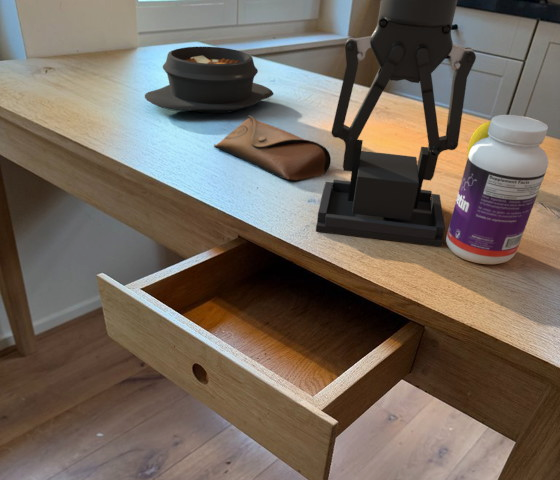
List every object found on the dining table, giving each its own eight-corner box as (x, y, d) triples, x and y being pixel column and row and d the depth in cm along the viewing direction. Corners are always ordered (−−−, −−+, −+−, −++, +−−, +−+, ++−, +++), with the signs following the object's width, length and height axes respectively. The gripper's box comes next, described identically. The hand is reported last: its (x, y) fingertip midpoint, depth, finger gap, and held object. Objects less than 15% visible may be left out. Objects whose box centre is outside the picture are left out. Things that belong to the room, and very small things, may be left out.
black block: (409, 191, 73) (416, 156, 70) (410, 220, 66) (419, 183, 64) (355, 185, 74) (360, 150, 71) (351, 213, 67) (357, 176, 64)
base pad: (435, 206, 75) (439, 191, 74) (441, 247, 66) (446, 231, 65) (324, 193, 77) (326, 178, 75) (315, 231, 67) (317, 215, 66)
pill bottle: (446, 231, 70) (479, 106, 60) (513, 243, 68) (557, 117, 59) (441, 260, 64) (477, 127, 54) (514, 274, 62) (564, 140, 53)
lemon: (497, 184, 83) (515, 127, 78) (459, 177, 84) (474, 121, 79) (499, 172, 87) (516, 117, 82) (463, 165, 88) (477, 111, 83)
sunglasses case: (208, 144, 87) (225, 101, 85) (237, 160, 93) (254, 120, 91) (290, 181, 78) (311, 134, 76) (317, 196, 83) (337, 152, 82)
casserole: (182, 129, 93) (179, 73, 88) (126, 101, 104) (120, 49, 98) (294, 109, 107) (297, 59, 101) (234, 86, 117) (235, 39, 112)
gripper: (318, -31, 53) (299, 203, 68) (534, -12, 52) (466, 223, 66) (325, -37, 59) (306, 180, 74) (520, -20, 57) (460, 198, 72)
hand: (382, 200), depth 70 cm, fingers closed on black block, 7 cm apart
